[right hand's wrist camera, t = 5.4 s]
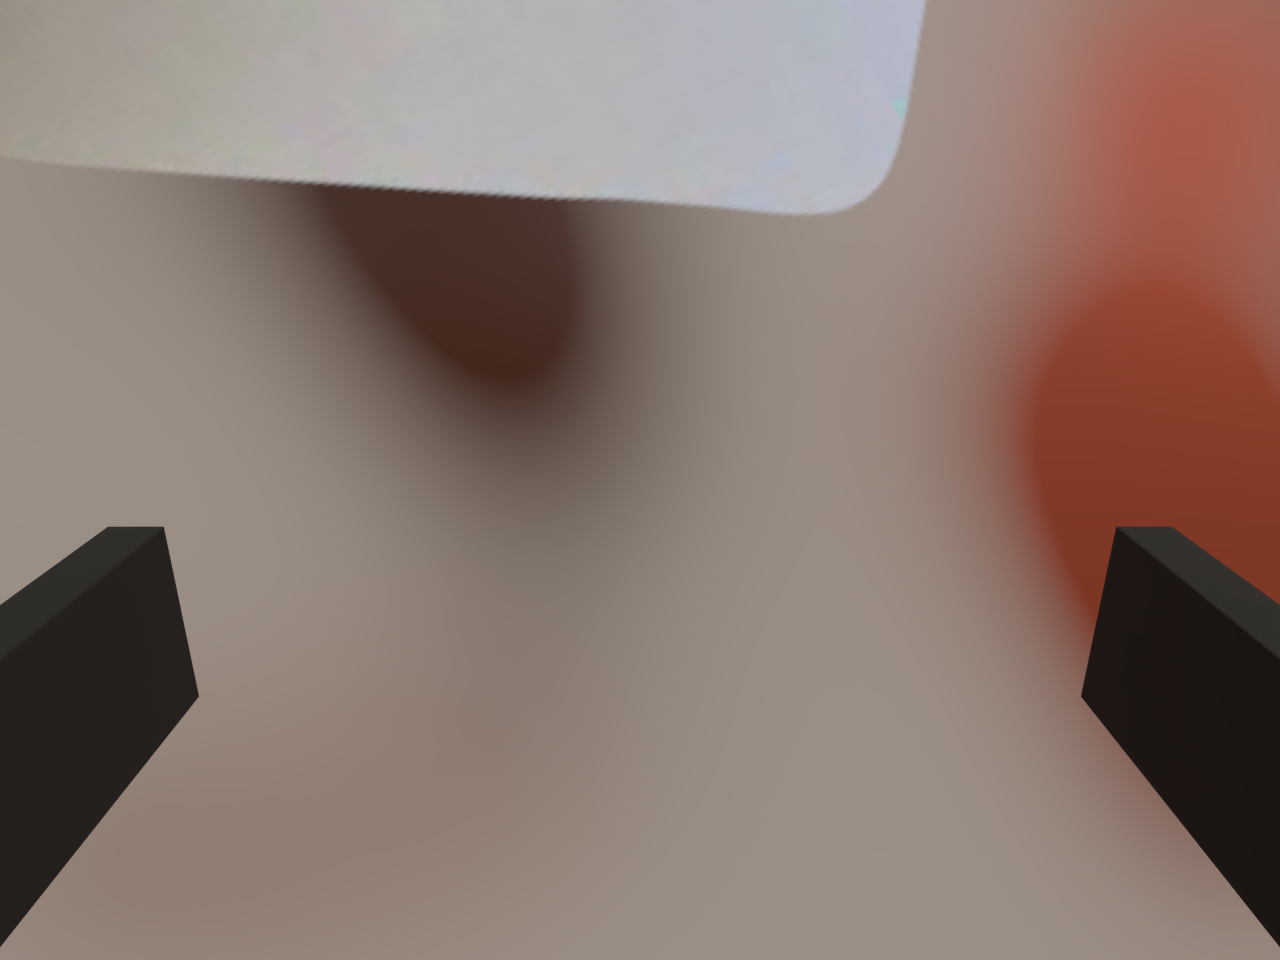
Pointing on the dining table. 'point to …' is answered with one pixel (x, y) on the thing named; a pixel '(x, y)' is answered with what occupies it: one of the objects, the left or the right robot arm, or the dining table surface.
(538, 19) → the dining table surface
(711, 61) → the dining table surface
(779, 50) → the dining table surface
